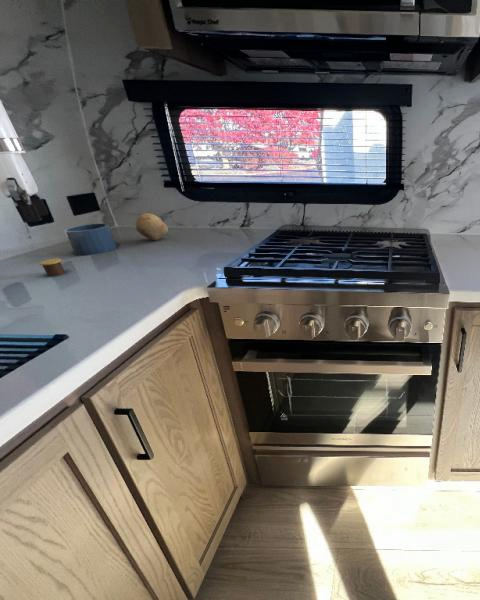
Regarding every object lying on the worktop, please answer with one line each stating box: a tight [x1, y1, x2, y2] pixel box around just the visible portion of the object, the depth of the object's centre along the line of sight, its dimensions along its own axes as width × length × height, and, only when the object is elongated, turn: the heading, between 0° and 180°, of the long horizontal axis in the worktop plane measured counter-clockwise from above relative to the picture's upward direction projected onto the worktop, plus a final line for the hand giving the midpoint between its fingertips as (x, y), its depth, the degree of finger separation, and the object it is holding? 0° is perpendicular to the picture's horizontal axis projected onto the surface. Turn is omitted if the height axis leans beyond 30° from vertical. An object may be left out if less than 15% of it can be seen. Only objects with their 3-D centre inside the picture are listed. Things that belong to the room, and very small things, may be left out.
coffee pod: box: [38, 258, 66, 277], centre depth 92 cm, size 4×4×4 cm
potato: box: [135, 212, 169, 241], centre depth 122 cm, size 9×9×10 cm
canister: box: [63, 222, 118, 257], centre depth 112 cm, size 11×11×8 cm
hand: (37, 218), depth 87 cm, fingers open, 9 cm apart
